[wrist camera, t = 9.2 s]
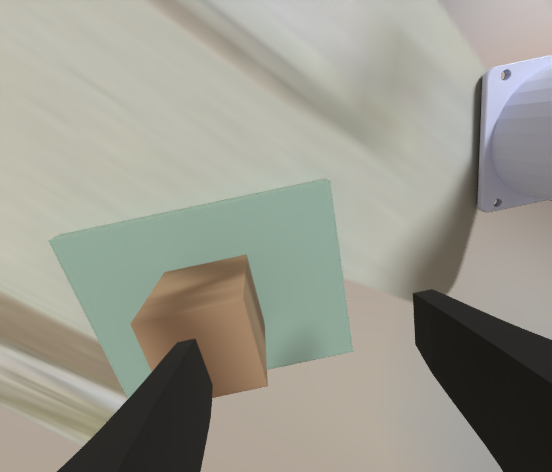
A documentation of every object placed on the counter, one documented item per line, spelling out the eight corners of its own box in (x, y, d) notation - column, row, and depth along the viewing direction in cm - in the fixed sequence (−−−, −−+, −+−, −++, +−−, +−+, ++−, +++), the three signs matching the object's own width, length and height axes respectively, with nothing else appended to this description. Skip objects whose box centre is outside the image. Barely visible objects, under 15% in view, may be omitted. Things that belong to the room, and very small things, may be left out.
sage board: (325, 178, 17) (329, 181, 16) (348, 341, 21) (353, 351, 20) (59, 234, 17) (48, 240, 16) (133, 386, 21) (127, 398, 20)
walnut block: (246, 254, 17) (243, 299, 13) (264, 323, 19) (267, 386, 14) (164, 272, 17) (129, 323, 13) (189, 339, 19) (168, 407, 14)
